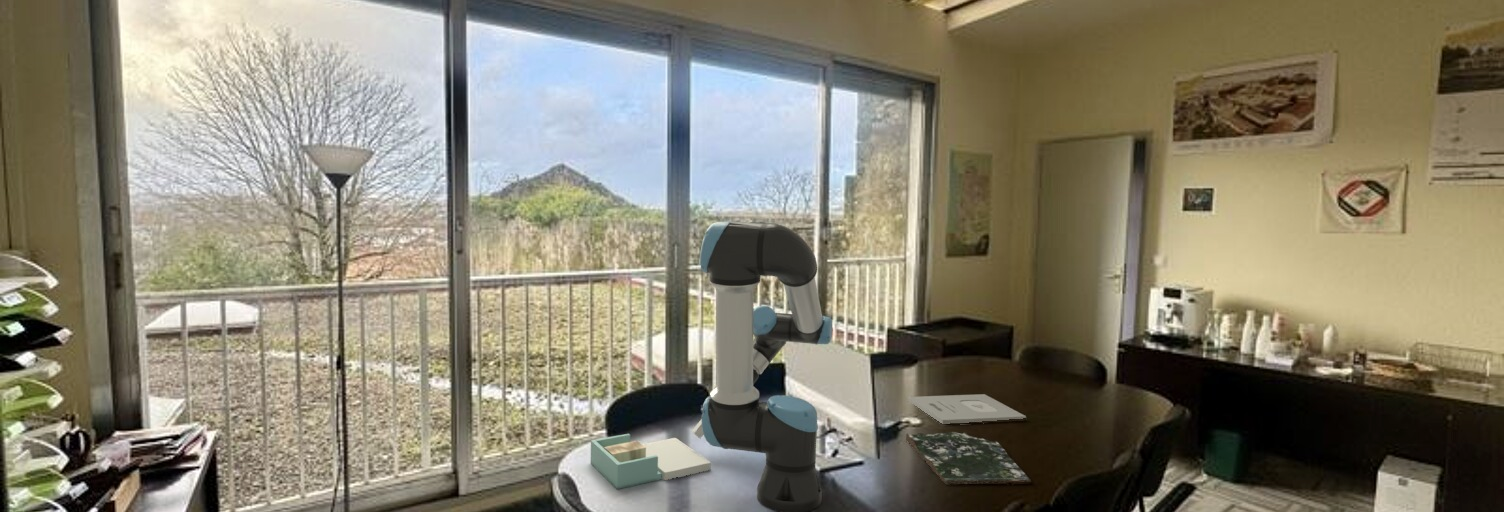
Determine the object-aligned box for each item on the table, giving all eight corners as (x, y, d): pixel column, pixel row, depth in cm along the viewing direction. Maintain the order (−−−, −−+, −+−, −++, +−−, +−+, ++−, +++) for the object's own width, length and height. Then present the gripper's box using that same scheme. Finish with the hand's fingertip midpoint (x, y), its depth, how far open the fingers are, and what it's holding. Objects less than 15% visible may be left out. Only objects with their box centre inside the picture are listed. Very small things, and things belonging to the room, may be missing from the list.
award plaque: (908, 402, 235) (908, 396, 234) (984, 399, 241) (984, 394, 241) (942, 426, 211) (942, 420, 210) (1025, 422, 217) (1026, 416, 217)
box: (661, 479, 163) (661, 455, 163) (617, 489, 157) (617, 464, 156) (631, 454, 178) (632, 433, 178) (590, 462, 172) (590, 440, 171)
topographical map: (945, 487, 166) (946, 475, 165) (903, 439, 198) (903, 429, 198) (1043, 486, 168) (1044, 474, 168) (985, 439, 201) (986, 429, 201)
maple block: (645, 447, 168) (612, 454, 163) (645, 468, 168) (612, 476, 163) (636, 440, 172) (603, 447, 167) (636, 461, 173) (603, 468, 168)
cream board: (710, 470, 170) (710, 462, 170) (664, 480, 163) (664, 472, 163) (675, 444, 187) (675, 437, 186) (632, 453, 179) (632, 445, 179)
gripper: (770, 381, 182) (716, 451, 175) (744, 370, 193) (692, 435, 185) (754, 364, 179) (699, 434, 171) (729, 354, 190) (676, 420, 182)
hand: (695, 435), depth 178 cm, fingers closed
